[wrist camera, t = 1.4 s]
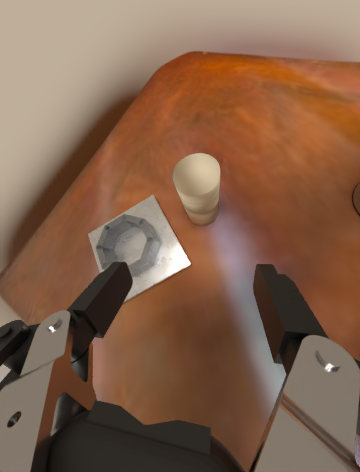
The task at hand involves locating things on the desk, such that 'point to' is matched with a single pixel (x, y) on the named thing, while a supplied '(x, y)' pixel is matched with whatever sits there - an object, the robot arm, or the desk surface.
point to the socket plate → (140, 246)
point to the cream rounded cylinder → (198, 187)
